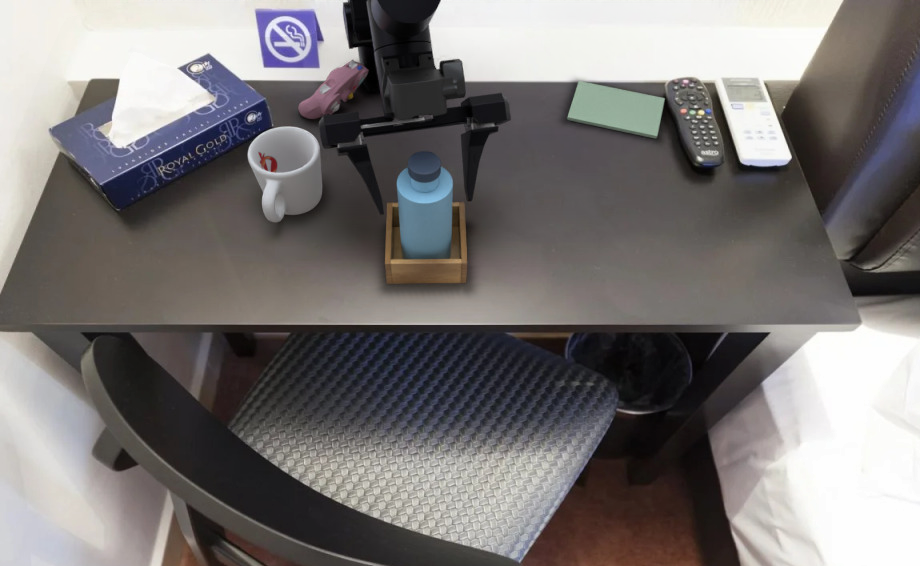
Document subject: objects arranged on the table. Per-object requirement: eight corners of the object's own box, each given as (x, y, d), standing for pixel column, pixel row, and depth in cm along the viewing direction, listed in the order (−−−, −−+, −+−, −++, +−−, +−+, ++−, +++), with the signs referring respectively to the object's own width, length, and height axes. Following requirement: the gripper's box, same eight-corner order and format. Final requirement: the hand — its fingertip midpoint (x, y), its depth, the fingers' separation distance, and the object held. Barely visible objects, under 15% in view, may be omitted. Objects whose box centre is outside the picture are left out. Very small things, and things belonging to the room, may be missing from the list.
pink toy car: (320, 136, 89) (332, 106, 83) (293, 113, 88) (304, 81, 82) (363, 96, 94) (378, 65, 88) (338, 73, 93) (352, 41, 87)
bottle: (393, 243, 76) (385, 153, 65) (437, 226, 77) (436, 135, 66) (415, 278, 73) (410, 190, 62) (459, 260, 75) (463, 171, 63)
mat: (566, 120, 89) (567, 117, 89) (578, 83, 93) (578, 80, 93) (656, 139, 87) (657, 136, 87) (663, 101, 92) (665, 98, 91)
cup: (310, 247, 77) (297, 199, 70) (244, 236, 77) (226, 187, 71) (337, 181, 82) (328, 130, 76) (276, 171, 83) (261, 120, 76)
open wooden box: (387, 287, 74) (384, 263, 70) (389, 227, 78) (387, 202, 75) (465, 286, 74) (467, 263, 70) (463, 227, 79) (464, 202, 75)
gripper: (303, 42, 56) (335, 225, 60) (515, 17, 59) (535, 195, 62) (309, 66, 67) (336, 220, 70) (488, 44, 69) (506, 194, 73)
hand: (426, 207), depth 69 cm, fingers open, 9 cm apart
